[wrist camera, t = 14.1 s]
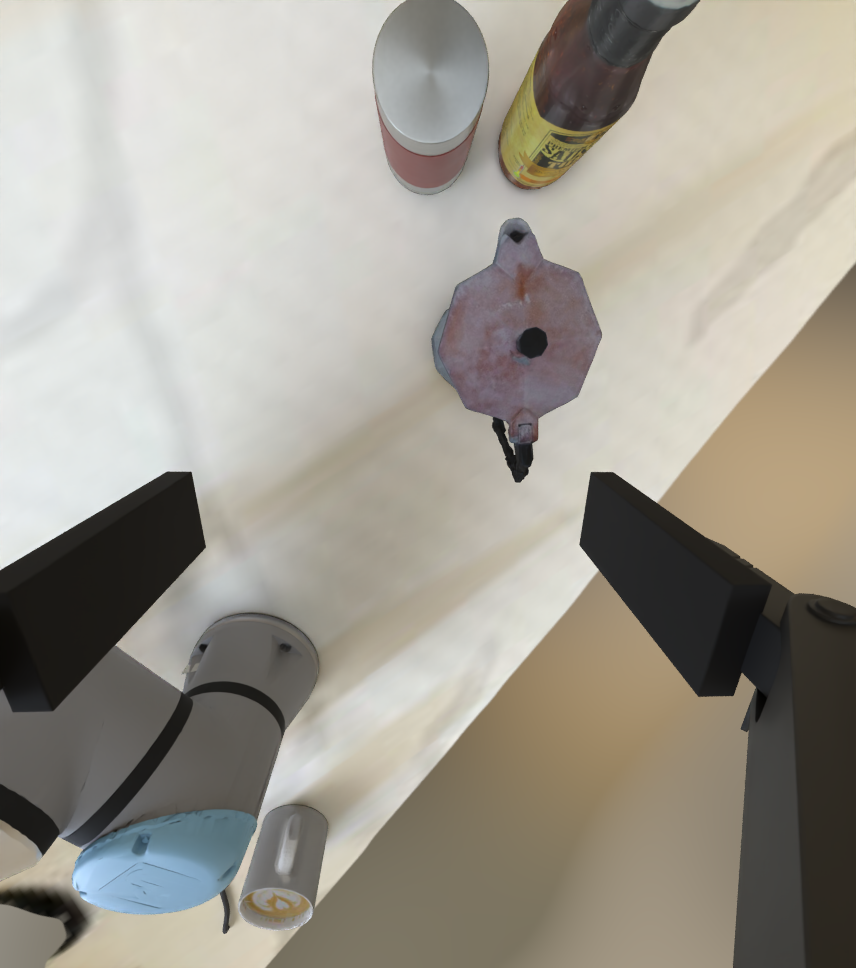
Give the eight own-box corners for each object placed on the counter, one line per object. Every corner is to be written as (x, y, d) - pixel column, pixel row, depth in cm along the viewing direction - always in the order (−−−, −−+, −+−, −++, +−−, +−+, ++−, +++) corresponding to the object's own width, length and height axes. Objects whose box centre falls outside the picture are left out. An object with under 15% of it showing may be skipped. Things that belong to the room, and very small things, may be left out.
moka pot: (521, 250, 38) (626, 179, 19) (536, 418, 43) (628, 491, 24) (416, 271, 38) (417, 221, 19) (444, 435, 43) (465, 519, 25)
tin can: (466, 196, 36) (486, 145, 26) (385, 195, 36) (373, 143, 26) (469, 94, 34) (493, -7, 23) (383, 92, 33) (368, -11, 23)
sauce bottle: (512, 208, 36) (613, 88, 18) (483, 127, 34) (563, -103, 16) (584, 168, 36) (768, -1, 17) (558, 83, 33) (737, -216, 15)
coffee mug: (315, 851, 68) (299, 936, 58) (255, 836, 66) (228, 921, 56) (345, 800, 63) (333, 883, 54) (282, 783, 62) (258, 865, 52)
